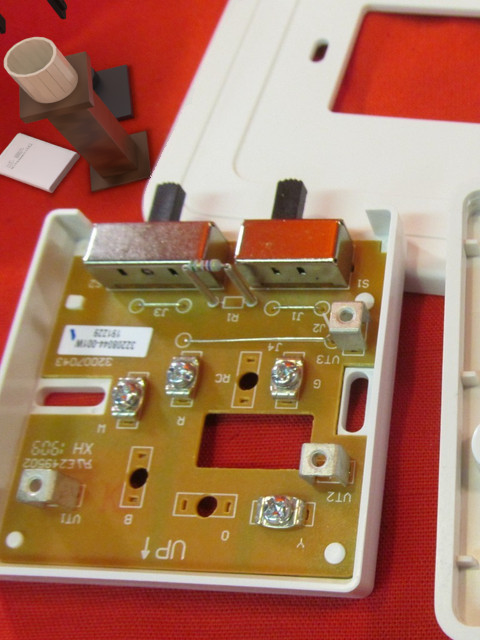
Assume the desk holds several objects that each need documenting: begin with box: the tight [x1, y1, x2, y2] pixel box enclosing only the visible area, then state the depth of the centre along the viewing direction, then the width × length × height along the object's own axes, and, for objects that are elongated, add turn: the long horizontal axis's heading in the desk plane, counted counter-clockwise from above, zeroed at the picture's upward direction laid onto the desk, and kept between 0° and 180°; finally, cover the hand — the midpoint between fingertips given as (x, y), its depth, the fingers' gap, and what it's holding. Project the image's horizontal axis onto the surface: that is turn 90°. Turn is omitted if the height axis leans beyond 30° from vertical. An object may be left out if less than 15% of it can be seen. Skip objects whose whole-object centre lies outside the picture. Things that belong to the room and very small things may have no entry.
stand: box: [18, 50, 153, 193], centre depth 108 cm, size 10×10×18 cm
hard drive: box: [0, 132, 81, 194], centre depth 117 cm, size 2×8×12 cm
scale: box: [91, 64, 135, 123], centre depth 121 cm, size 11×13×3 cm
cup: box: [3, 36, 78, 103], centre depth 98 cm, size 7×7×5 cm
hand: (34, 20), depth 109 cm, fingers open, 9 cm apart
